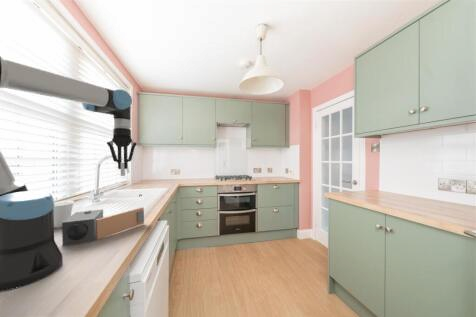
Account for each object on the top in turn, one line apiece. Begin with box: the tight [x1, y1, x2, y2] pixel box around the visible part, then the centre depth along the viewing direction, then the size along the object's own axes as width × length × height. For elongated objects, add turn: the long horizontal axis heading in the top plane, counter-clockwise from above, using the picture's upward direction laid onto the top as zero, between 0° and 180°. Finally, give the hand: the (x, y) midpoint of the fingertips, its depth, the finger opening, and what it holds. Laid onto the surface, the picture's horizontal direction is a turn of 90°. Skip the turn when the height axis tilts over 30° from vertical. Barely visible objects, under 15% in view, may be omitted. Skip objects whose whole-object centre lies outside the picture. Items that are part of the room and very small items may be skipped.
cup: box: [54, 200, 75, 229], centre depth 92 cm, size 10×10×11 cm
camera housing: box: [61, 209, 104, 247], centre depth 79 cm, size 16×10×10 cm, turn 24°
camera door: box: [96, 206, 145, 240], centre depth 84 cm, size 20×2×8 cm, turn 150°
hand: (123, 175), depth 93 cm, fingers closed
